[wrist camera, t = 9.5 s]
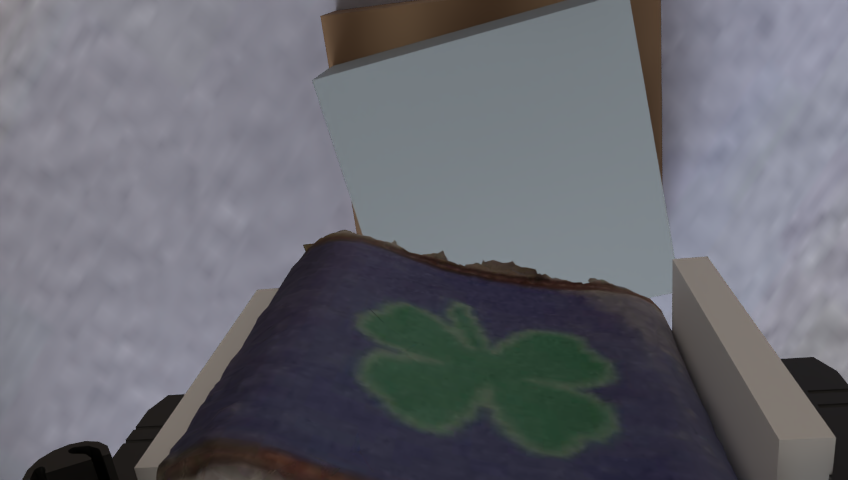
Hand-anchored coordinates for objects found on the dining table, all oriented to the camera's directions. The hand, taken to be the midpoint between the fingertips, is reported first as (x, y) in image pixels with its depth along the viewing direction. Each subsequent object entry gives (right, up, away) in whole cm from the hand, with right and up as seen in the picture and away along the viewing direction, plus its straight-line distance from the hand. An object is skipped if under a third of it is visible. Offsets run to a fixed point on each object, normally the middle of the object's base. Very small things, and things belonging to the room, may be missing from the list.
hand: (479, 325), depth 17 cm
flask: (0, +1, +1) cm, 1 cm away
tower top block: (+2, +5, +15) cm, 16 cm away
